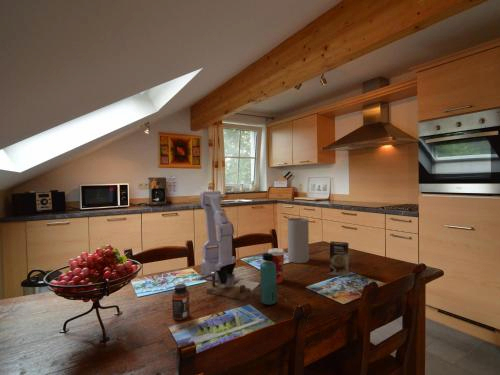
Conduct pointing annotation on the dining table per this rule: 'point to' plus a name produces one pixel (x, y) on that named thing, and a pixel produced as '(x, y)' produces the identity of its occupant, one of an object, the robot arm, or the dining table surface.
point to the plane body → (228, 290)
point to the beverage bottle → (268, 280)
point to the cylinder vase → (298, 240)
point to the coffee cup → (278, 262)
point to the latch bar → (207, 275)
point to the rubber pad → (247, 284)
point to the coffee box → (339, 258)
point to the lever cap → (228, 280)
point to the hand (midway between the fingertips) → (226, 281)
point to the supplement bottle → (180, 302)
